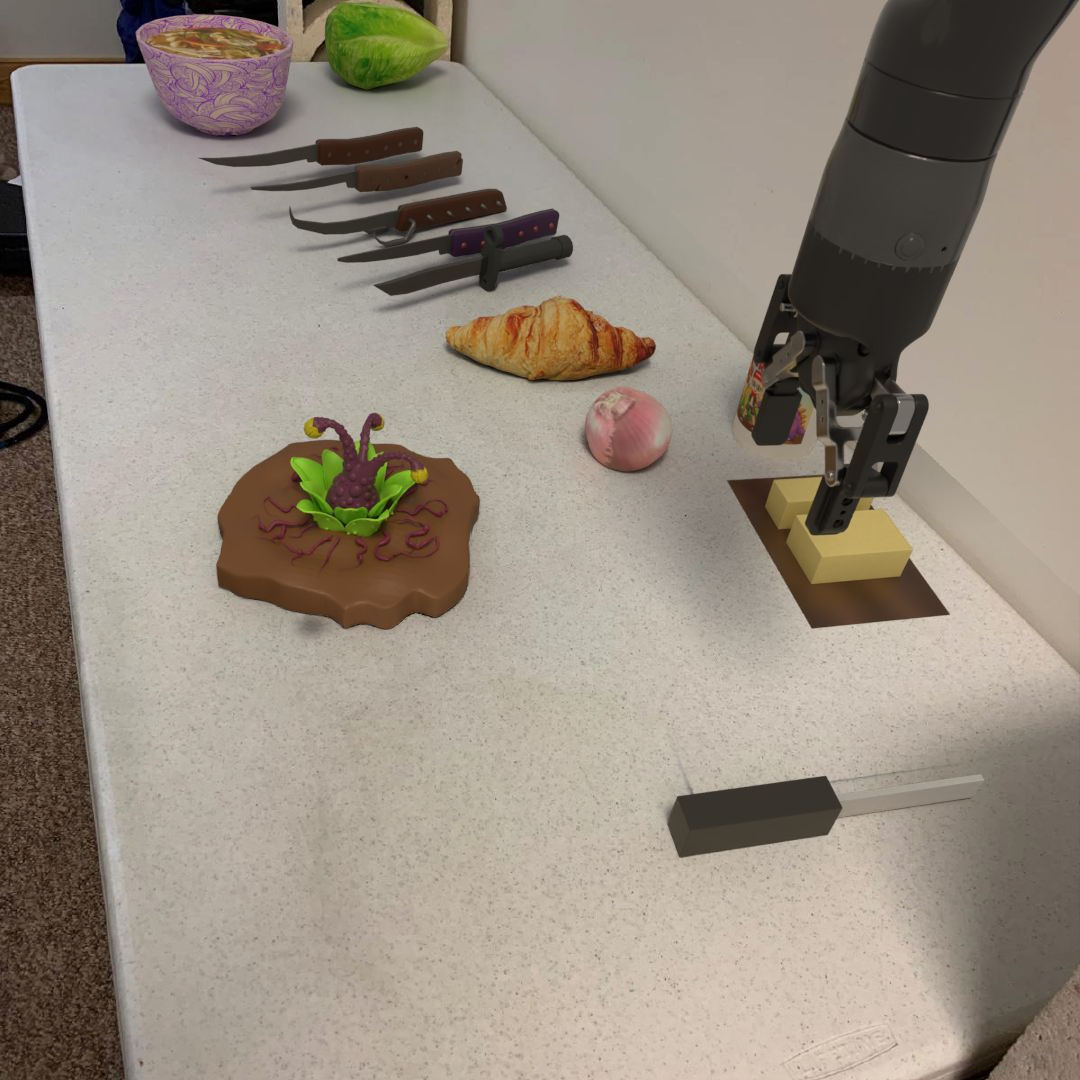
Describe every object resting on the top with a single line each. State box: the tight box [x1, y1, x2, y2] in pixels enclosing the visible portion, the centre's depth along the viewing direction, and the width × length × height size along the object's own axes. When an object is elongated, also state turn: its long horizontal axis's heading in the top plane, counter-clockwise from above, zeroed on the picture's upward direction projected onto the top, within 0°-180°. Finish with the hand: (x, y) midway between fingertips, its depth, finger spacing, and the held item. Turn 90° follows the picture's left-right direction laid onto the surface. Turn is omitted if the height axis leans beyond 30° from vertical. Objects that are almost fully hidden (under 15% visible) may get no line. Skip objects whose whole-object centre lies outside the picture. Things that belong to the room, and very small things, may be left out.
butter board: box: [726, 473, 951, 629], centre depth 83 cm, size 12×18×1 cm, turn 13°
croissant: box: [445, 295, 657, 381], centre depth 99 cm, size 21×10×8 cm, turn 93°
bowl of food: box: [135, 14, 295, 136], centre depth 135 cm, size 20×20×12 cm
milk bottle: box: [731, 333, 818, 463], centre depth 88 cm, size 8×8×20 cm
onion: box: [584, 386, 674, 472], centre depth 88 cm, size 8×8×7 cm
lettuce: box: [324, 1, 450, 91], centre depth 155 cm, size 14×20×12 cm
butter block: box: [786, 508, 914, 584], centre depth 80 cm, size 8×5×3 cm, turn 103°
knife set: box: [198, 126, 574, 297], centre depth 117 cm, size 35×33×8 cm
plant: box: [215, 412, 481, 630], centre depth 75 cm, size 20×20×11 cm
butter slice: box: [765, 477, 874, 529], centre depth 84 cm, size 8×3×3 cm, turn 103°
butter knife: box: [667, 773, 985, 858], centre depth 62 cm, size 21×2×3 cm, turn 103°
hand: (793, 484), depth 59 cm, fingers open, 8 cm apart
